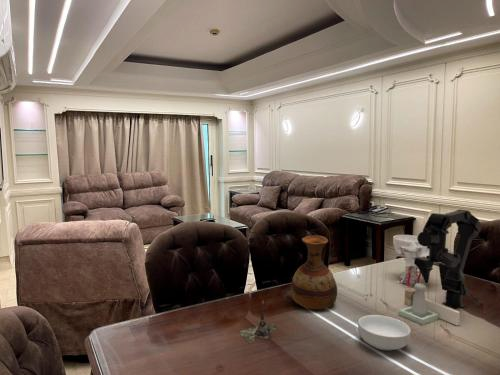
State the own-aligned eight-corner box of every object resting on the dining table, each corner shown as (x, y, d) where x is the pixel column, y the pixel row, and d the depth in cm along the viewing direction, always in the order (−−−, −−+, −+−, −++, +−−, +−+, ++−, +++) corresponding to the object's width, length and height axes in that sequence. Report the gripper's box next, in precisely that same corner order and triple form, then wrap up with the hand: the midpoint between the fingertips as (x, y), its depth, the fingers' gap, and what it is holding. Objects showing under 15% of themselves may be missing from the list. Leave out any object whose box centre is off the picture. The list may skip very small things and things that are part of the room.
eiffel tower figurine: (272, 324, 140) (273, 290, 139) (287, 336, 131) (288, 299, 130) (237, 332, 133) (237, 296, 132) (249, 345, 124) (250, 306, 123)
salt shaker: (425, 320, 143) (427, 287, 142) (409, 316, 146) (411, 284, 145) (427, 315, 148) (429, 283, 147) (412, 311, 151) (413, 280, 150)
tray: (414, 310, 154) (414, 305, 154) (438, 319, 146) (438, 314, 145) (398, 315, 149) (398, 310, 149) (422, 325, 140) (422, 319, 140)
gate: (413, 305, 159) (414, 294, 158) (459, 324, 141) (459, 311, 140) (411, 306, 158) (411, 294, 158) (456, 325, 140) (457, 312, 140)
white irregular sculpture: (382, 277, 197) (384, 235, 195) (411, 275, 203) (413, 234, 201) (415, 294, 173) (418, 246, 172) (448, 290, 179) (450, 244, 177)
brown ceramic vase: (284, 308, 154) (286, 237, 152) (297, 292, 172) (299, 229, 170) (332, 316, 146) (334, 242, 144) (339, 299, 165) (342, 233, 163)
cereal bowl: (404, 363, 113) (406, 341, 113) (351, 348, 122) (352, 327, 121) (413, 341, 128) (414, 321, 127) (364, 329, 136) (365, 310, 136)
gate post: (409, 303, 162) (409, 288, 161) (414, 305, 159) (415, 290, 159) (404, 304, 160) (405, 289, 160) (410, 307, 158) (410, 291, 157)
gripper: (438, 249, 138) (435, 290, 139) (471, 248, 146) (468, 287, 147) (414, 243, 149) (411, 281, 149) (447, 242, 156) (444, 278, 157)
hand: (434, 282), depth 150 cm, fingers open, 9 cm apart
